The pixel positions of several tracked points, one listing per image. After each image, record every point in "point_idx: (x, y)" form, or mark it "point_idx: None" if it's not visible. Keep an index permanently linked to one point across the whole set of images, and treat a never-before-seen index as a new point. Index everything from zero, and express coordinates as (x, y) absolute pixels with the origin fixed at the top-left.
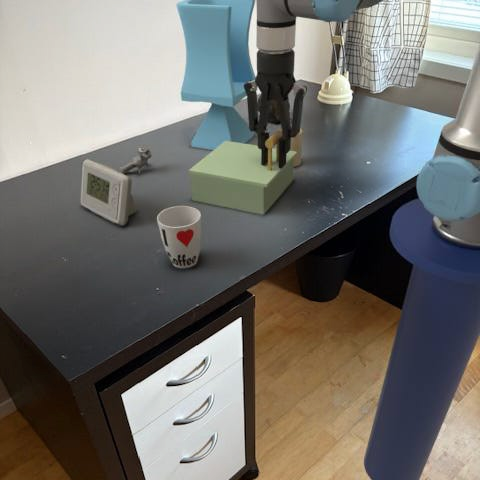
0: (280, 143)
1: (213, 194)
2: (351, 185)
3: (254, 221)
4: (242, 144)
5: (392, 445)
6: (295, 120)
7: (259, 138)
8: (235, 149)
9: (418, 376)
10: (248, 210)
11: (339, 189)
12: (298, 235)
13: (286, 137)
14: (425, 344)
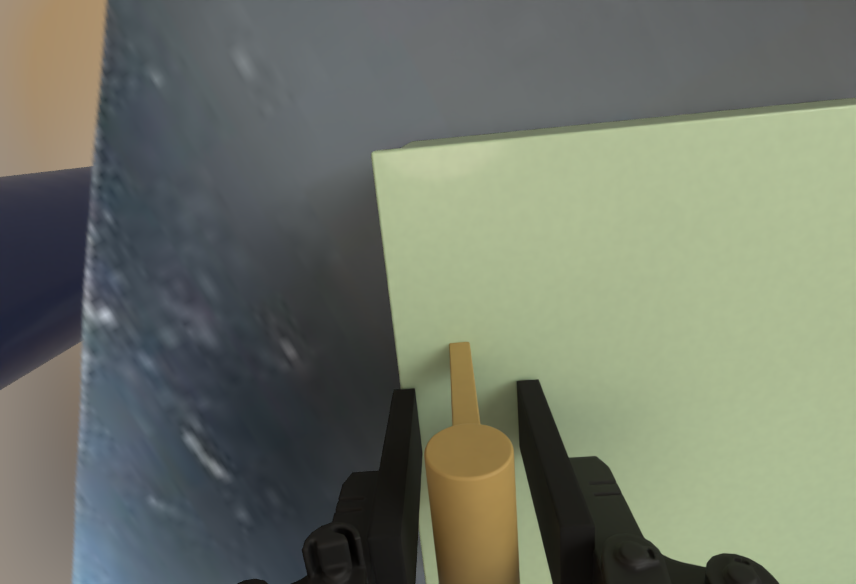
0: (389, 507)
1: (734, 111)
2: (213, 536)
3: (420, 59)
4: (780, 578)
5: None
6: None
7: (615, 520)
8: (799, 507)
9: (80, 168)
10: (495, 133)
11: (236, 492)
12: (159, 41)
13: (309, 556)
14: (11, 178)
